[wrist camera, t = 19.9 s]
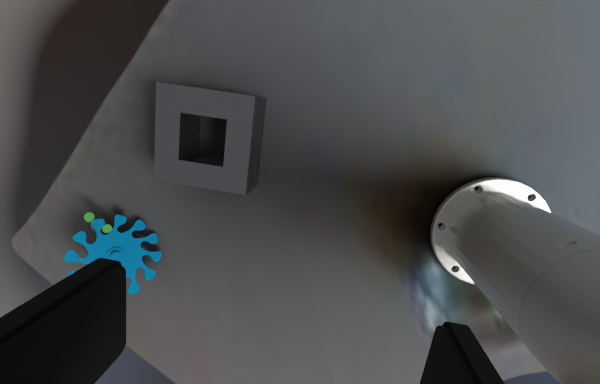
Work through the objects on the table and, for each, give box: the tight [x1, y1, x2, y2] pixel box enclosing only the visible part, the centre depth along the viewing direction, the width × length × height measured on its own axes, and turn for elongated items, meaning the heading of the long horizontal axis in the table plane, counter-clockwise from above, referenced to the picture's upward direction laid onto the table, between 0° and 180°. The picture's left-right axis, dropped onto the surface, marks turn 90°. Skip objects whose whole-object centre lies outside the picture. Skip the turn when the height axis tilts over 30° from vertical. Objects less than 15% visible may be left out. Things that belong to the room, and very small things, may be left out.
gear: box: [64, 212, 162, 294], centre depth 40 cm, size 11×6×10 cm
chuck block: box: [154, 82, 266, 195], centre depth 35 cm, size 10×10×5 cm
